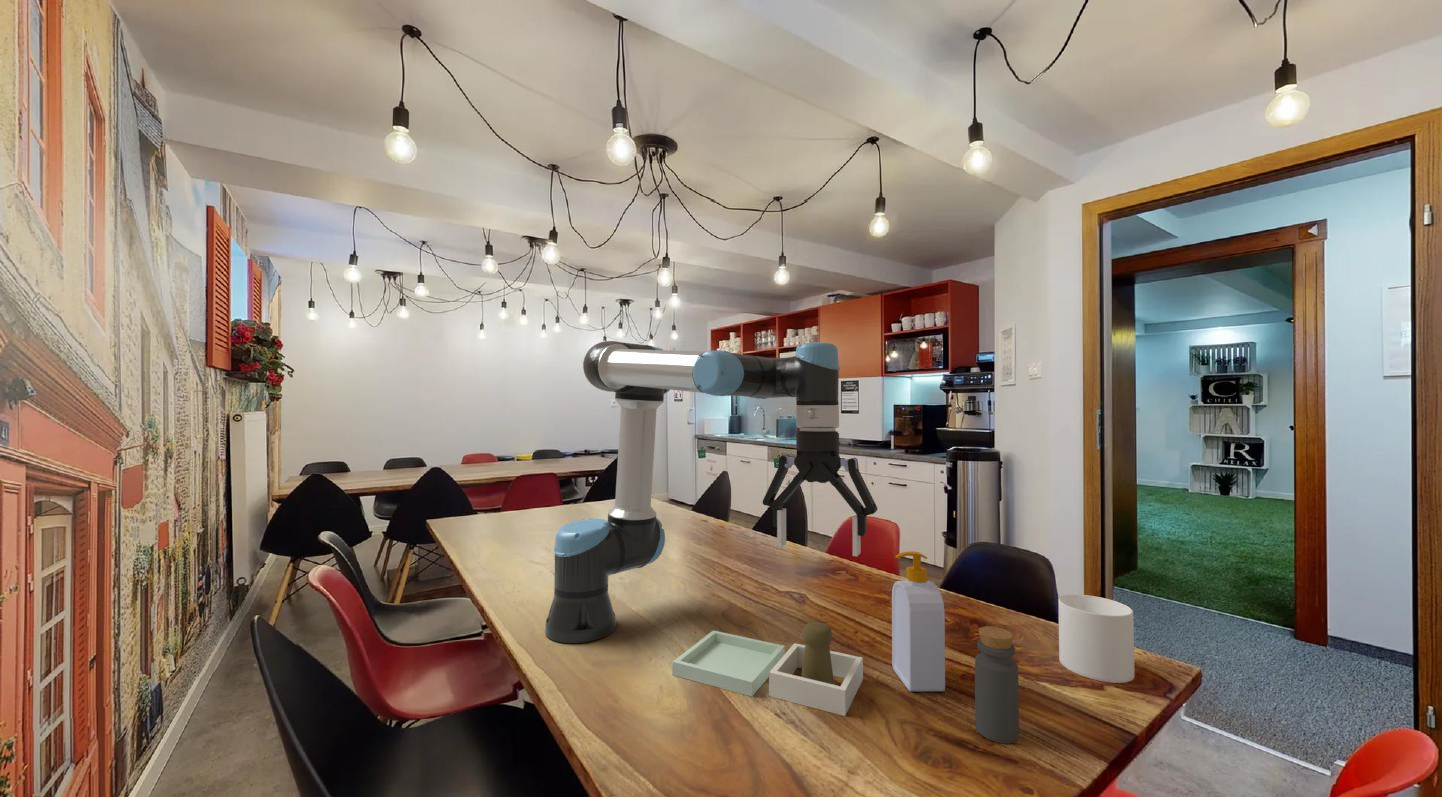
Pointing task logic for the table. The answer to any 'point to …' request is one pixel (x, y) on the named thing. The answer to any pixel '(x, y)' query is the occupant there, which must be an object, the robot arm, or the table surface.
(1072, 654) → the cup
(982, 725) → the bottle
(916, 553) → the soap bottle
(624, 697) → the table surface
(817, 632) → the cork
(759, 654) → the tray
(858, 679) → the frame
